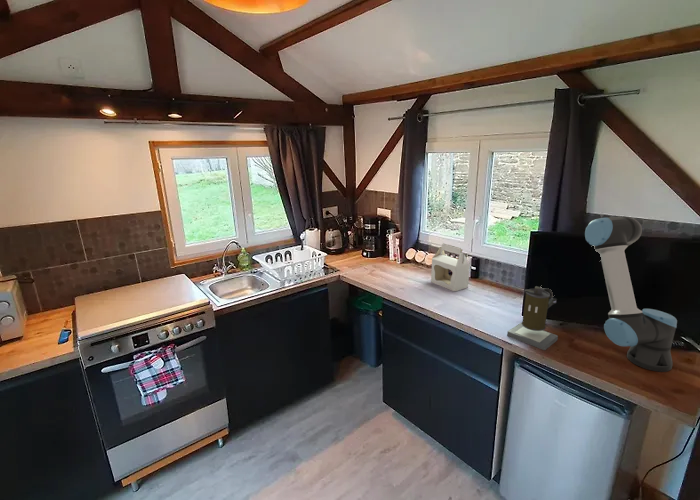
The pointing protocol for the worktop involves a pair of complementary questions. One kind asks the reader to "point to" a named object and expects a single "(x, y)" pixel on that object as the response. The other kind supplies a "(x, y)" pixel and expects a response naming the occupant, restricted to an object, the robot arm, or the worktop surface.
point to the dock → (533, 336)
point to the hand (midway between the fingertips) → (532, 309)
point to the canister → (531, 318)
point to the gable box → (457, 267)
